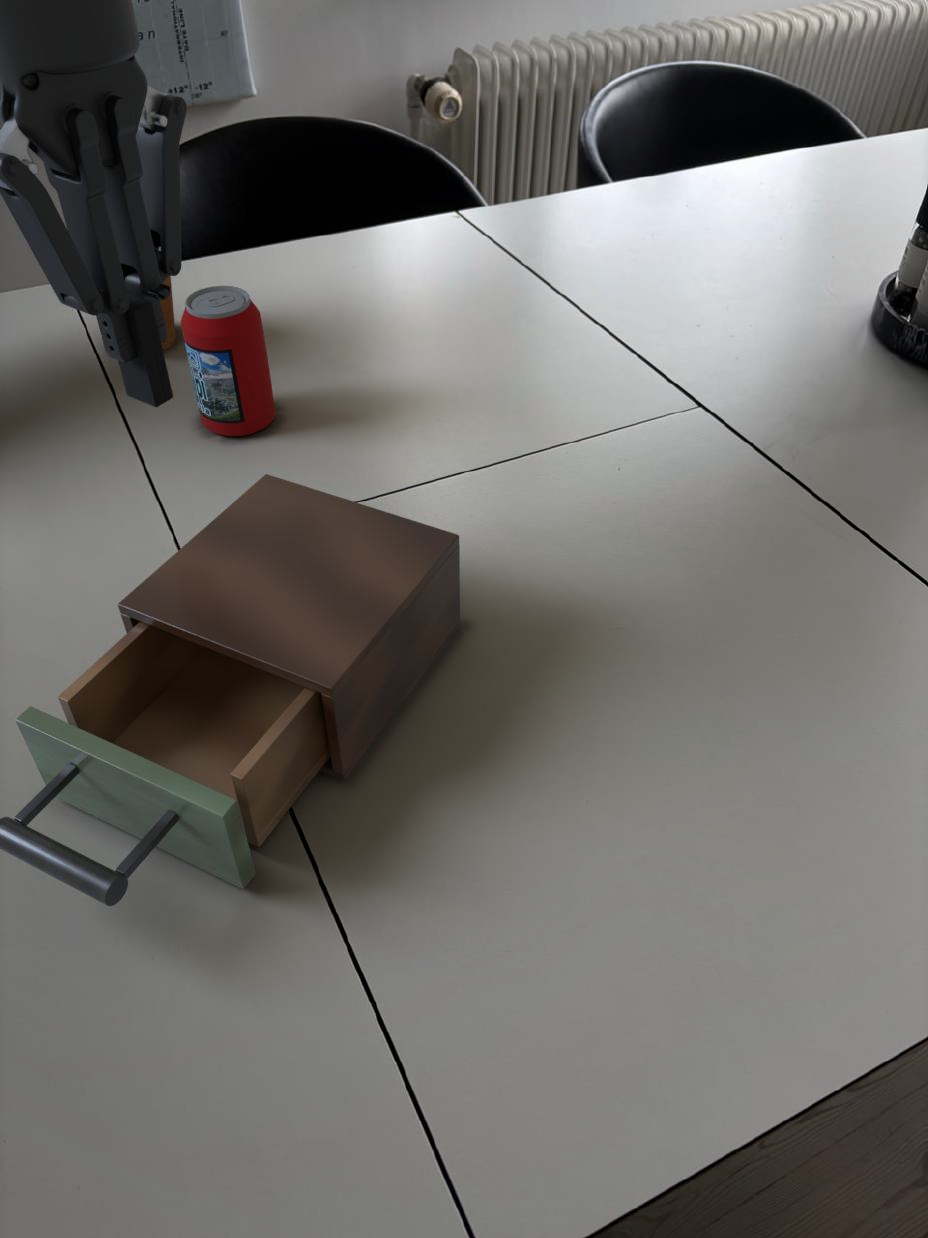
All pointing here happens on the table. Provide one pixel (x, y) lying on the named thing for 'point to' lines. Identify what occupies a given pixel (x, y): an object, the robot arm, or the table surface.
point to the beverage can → (228, 360)
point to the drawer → (169, 759)
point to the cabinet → (314, 601)
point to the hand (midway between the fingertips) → (150, 395)
